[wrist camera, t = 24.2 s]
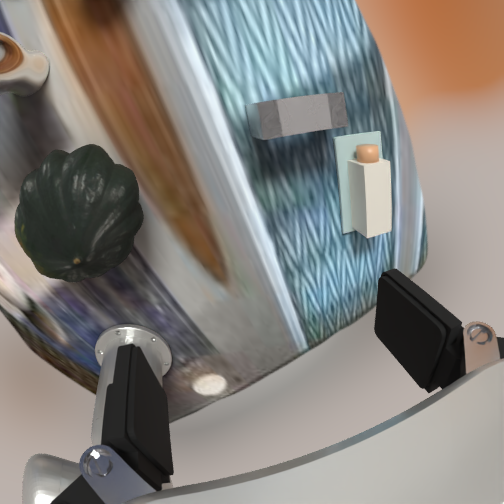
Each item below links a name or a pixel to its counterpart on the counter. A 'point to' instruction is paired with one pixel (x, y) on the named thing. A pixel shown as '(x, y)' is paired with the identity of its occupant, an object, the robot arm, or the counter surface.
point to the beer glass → (21, 68)
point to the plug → (370, 191)
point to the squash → (78, 214)
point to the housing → (296, 115)
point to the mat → (344, 152)
